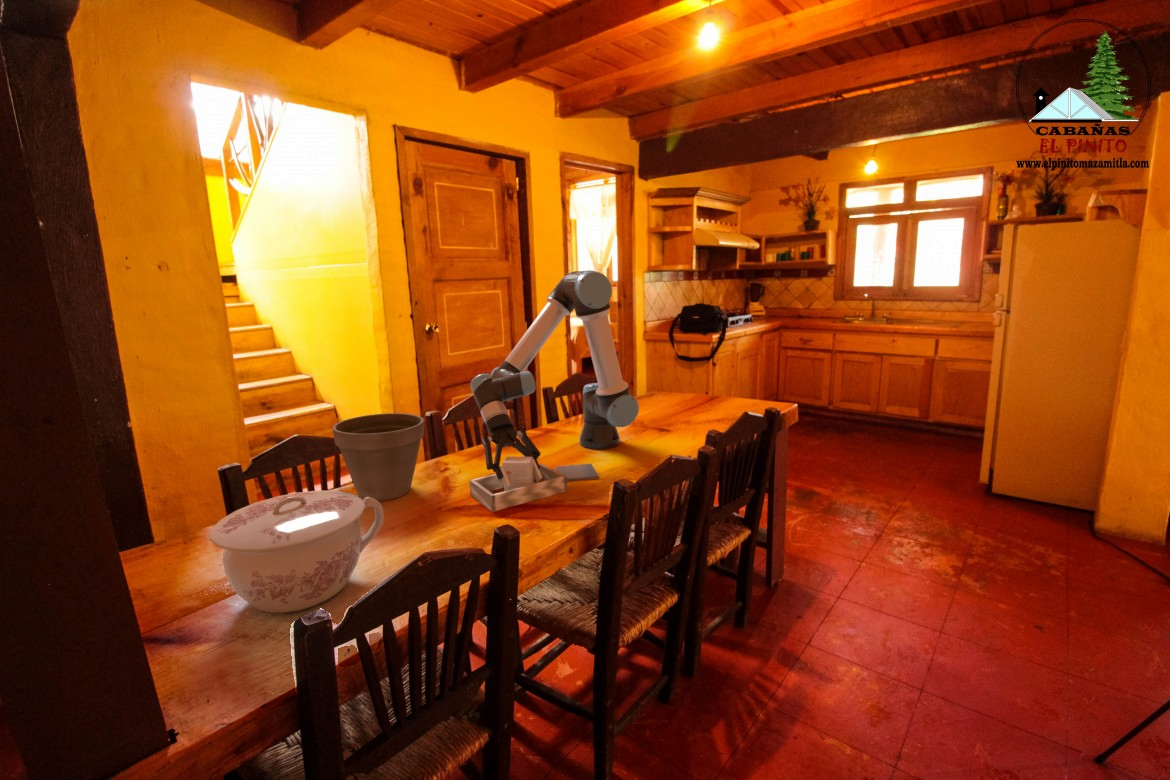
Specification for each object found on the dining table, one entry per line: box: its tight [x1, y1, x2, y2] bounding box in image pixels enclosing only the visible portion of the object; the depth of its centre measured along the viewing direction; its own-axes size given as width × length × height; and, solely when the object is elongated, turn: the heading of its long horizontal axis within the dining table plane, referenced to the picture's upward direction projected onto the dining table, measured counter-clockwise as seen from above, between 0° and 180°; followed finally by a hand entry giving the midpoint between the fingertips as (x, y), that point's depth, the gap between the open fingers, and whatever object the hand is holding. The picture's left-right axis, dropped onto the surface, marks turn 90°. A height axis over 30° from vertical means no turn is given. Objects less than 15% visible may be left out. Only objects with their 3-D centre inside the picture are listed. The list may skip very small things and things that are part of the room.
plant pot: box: [332, 412, 425, 502], centre depth 164 cm, size 25×25×22 cm
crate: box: [468, 463, 568, 513], centre depth 163 cm, size 24×15×4 cm, turn 125°
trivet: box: [554, 463, 599, 482], centre depth 178 cm, size 12×12×1 cm
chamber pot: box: [208, 490, 385, 614], centre depth 111 cm, size 28×28×21 cm
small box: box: [502, 456, 535, 492], centre depth 162 cm, size 8×6×10 cm
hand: (524, 483), depth 159 cm, fingers closed on small box, 9 cm apart
